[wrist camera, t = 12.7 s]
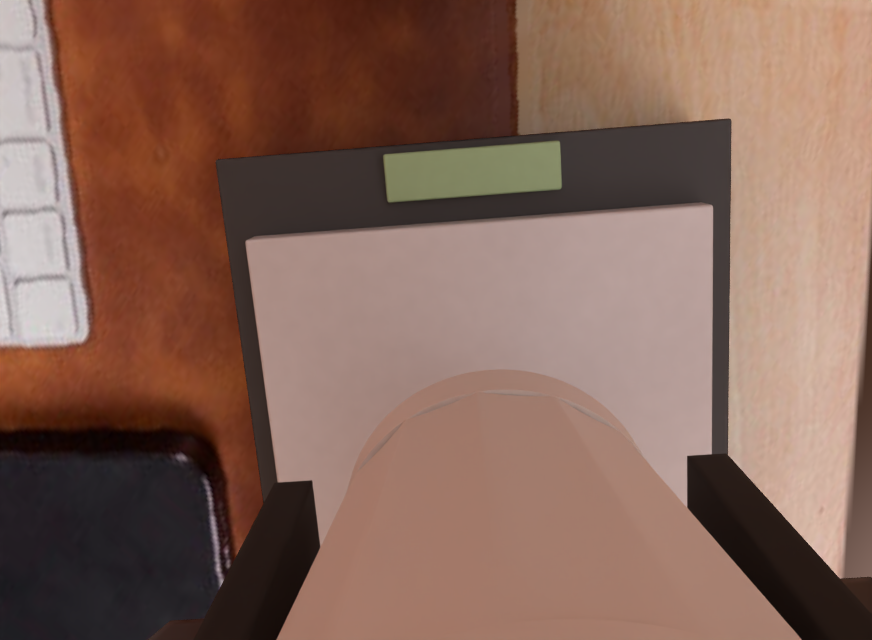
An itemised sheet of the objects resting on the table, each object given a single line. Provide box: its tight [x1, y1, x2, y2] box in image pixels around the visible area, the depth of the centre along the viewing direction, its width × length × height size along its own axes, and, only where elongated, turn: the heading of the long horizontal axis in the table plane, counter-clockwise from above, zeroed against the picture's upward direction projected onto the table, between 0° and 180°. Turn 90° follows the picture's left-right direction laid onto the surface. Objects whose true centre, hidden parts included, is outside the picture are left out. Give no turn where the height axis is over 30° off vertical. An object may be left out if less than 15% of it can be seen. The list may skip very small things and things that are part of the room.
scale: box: [216, 119, 731, 547], centre depth 21 cm, size 13×14×4 cm
